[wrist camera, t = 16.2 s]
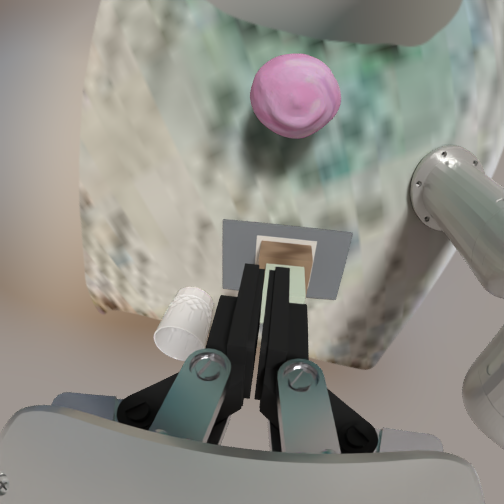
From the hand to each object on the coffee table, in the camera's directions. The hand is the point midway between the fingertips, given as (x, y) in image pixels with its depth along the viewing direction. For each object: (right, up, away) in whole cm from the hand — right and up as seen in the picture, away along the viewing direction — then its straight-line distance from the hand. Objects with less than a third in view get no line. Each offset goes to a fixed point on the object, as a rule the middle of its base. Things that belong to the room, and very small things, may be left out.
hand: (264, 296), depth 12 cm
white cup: (-10, -7, +41) cm, 42 cm away
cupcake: (+4, +21, +21) cm, 30 cm away
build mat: (+4, 0, +34) cm, 34 cm away
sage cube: (+4, -2, +30) cm, 31 cm away
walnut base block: (+4, 0, +34) cm, 34 cm away
